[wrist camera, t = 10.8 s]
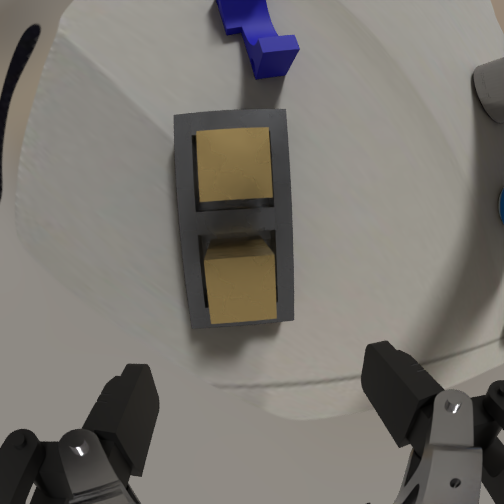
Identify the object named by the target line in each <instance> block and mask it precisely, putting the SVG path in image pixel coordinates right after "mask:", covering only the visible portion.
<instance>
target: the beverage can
mask: <svg viewBox="0 0 504 504" xmlns="http://www.w3.org/2000/svg"><path fill="white" fill-rule="evenodd" d="M498 208H499V214H500V217H501V220H502V222H503V224H504V188H503V190H502V192H501V194H500V197H499V204H498Z"/></svg>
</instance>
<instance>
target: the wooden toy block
mask: <svg viewBox="0 0 504 504" xmlns="http://www.w3.org/2000/svg"><path fill="white" fill-rule="evenodd" d="M204 267H205V277H206V286H207V294H208V303H209V311H210V319H211V324H220V323H233V322H245V321H256V320H267V319H277V309H276V281H275V257H274V253H273V252H272V251H271V249H270V248H269V247H268V245H267V244H266V243H265V241H264V240H263V239H262V237H261V236H247V237H234V238H221V239H211V241H210V244H209V247H208V249H207V252H206V255H205V258H204Z"/></svg>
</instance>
